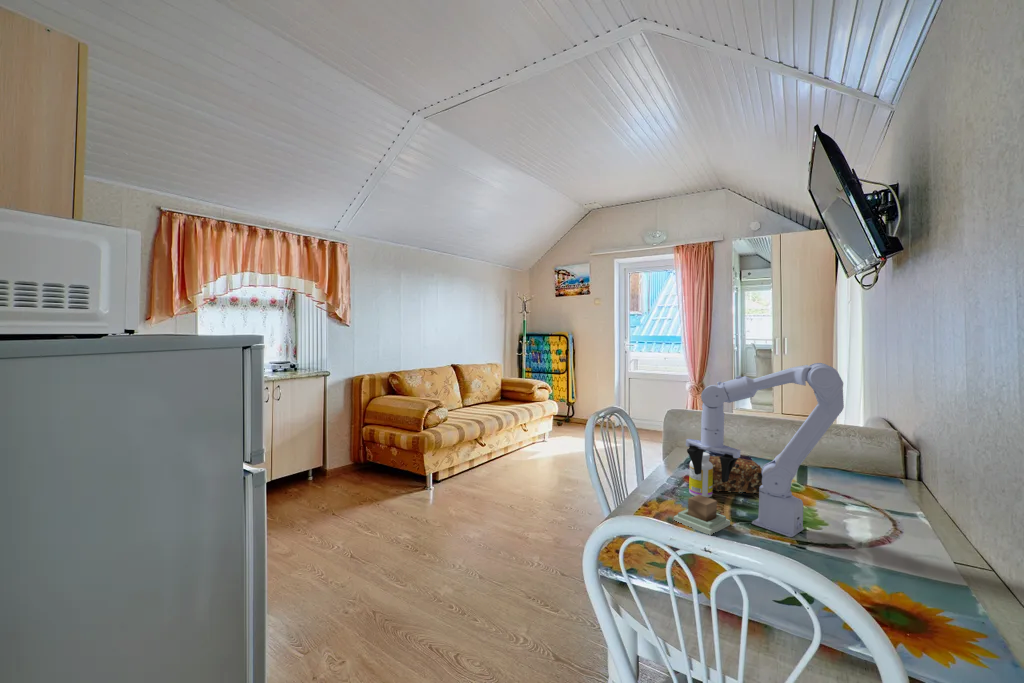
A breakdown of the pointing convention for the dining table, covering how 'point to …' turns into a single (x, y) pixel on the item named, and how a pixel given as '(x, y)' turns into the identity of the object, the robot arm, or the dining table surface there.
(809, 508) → the dining table surface
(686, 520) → the plate
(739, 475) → the bread
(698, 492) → the supplement bottle
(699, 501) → the cube
